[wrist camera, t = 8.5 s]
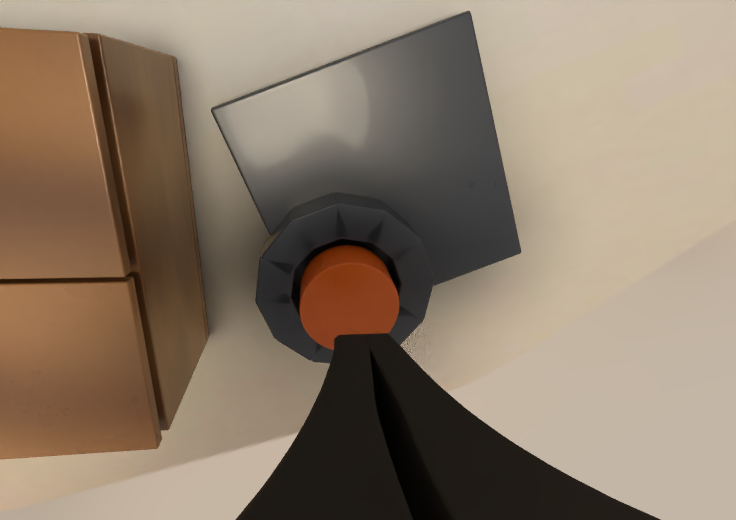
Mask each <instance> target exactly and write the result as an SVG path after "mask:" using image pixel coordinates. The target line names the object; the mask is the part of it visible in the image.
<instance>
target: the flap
mask: <svg viewBox="0 0 736 520" xmlns="http://www.w3.org/2000/svg"><path fill="white" fill-rule="evenodd" d="M161 440H162V436H161V430H160V425H159V419H158V413H157V408H156V402H155V396H154V391H153V385H152V379H151V374H150V368H149V362H148V357H147V351H146V345H145V339H144V334H143V328H142V322H141V317H140V311H139V305H138V300H137V294H136V288H135V283H134V278H133V277H100V278H38V279H0V459H13V458H28V457H42V456H57V455H72V454H86V453H101V452H115V451H130V450H145V449H157V448H158V447H159V445H160V442H161Z"/></svg>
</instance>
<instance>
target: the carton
mask: <svg viewBox="0 0 736 520" xmlns="http://www.w3.org/2000/svg"><path fill="white" fill-rule="evenodd" d="M100 277H133V278H134V283H135V288H136V294H137V300H138V305H139V311H140V317H141V322H142V328H143V334H144V339H145V345H146V351H147V357H148V362H149V368H150V374H151V379H152V385H153V391H154V396H155V402H156V408H157V413H158V419H159V425H160V430H169V428H170V426H171V424H172V421H173V419H174V417H175V414H176V412H177V410H178V407H179V405H180V403H181V400H182V398H183V396H184V393H185V391H186V389H187V386H188V384H189V382H190V379H191V377H192V375H193V372H194V370H195V368H196V365H197V363H198V361H199V358H200V356H201V354H202V351H203V349H204V347H205V344H206V342H207V340H208V337H209V334H208V326H207V317H206V309H205V300H204V292H203V283H202V275H201V266H200V258H199V249H198V241H197V232H196V224H195V215H194V207H193V198H192V190H191V181H190V173H189V164H188V156H187V147H186V139H185V130H184V122H183V113H182V105H181V96H180V88H179V79H178V71H177V62H176V57H173V56H170V55H167V54H163V53H160V52H157V51H154V50H150V49H147V48H144V47H140V46H137V45H134V44H131V43H127V42H124V41H121V40H117V39H114V38H111V37H108V36H104V35H101V34H95V33H79V32H69V31H52V30H34V29H17V28H0V279H38V278H100Z"/></svg>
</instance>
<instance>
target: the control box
mask: <svg viewBox="0 0 736 520" xmlns="http://www.w3.org/2000/svg"><path fill="white" fill-rule="evenodd" d="M211 112H212V114H213V116H214V119H215V121H216V123H217V125H218V127H219V129H220V131H221V133H222V135H223V138H224V140H225V142H226V144H227V146H228V148H229V150H230V152H231V155H232V157H233V159H234V161H235V163H236V165H237V167H238V169H239V171H240V174H241V176H242V178H243V180H244V182H245V184H246V186H247V188H248V191H249V193H250V195H251V197H252V199H253V201H254V203H255V205H256V207H257V210H258V212H259V214H260V216H261V218H262V220H263V222H264V224H265V227H266V229H267V231H268V233H269V235H270V236H269V238H268V239H267V240H266V242H265V244H264V247H263V250H262V253H261V256H260V261H259V270H258V280H257V289H256V299H255V301H256V304H257V306H258V308H259V310H260V312H261V313H262V315H263V317H264V319H265V321H266V323H267V325H268V327H269V329H270V331H271V333H272V334H273V336H274V338H275V339H277V340H278V341H279V342H281V343H282V344H284V345H286V346H287V347H289V348H291V349H292V350H294V351H295V352H297V353H299V354H300V355H302V356H303V357H305V358H307V359H308V360H312V361H313V362H322V363H331V360H332V356H333V351H334V350H331V349H328V348H326V347H324V346H322V345H320V344H319V343H317V342H316V341H315V340H313V339H312V338H311V337H310V336H309V334H308V333H307V332H306V330H305V328H304V327H303V324H302V322H301V318H300V311H299V307H300V289H301V280H302V276H303V273H304V271H305V269H306V267H307V265H308V264H309V263H310V261H311V260H312V259H313V258H314V257H316V256H317V255H318V254H319V253H321V252H323V251H324V250H327V249H329V248H332V247H335V246H340V245H355V246H360V247H363V248H366V249H368V250H370V251H371V252H373V253H374V254H376V255H377V256H378V257H379V258H380V259H381V260H382V261H383V263H384V264H385V266H386V268H387V270H388V272H389V274H390V277H391V279H392V281H393V283H394V285H395V288H396V290H397V293H398V296H399V313H398V316H397V320H396V322H395V324H394V326H393V327H392V329H391V331H390V332H389V334H390V336H391V337H392V338H393V339H394V340H395V341H396V342H397V343H398V344H399V345H400V344H401V343H402V342H403V341H404V340H405V339H406V338H407V337H408V336H409V335H410V334H411V333H412V332H413V331H414V330H415V329H416V328H417V326H418V325H419V324H420V323H421V322H422V321H423V319H424V317H425V314H426V310H427V306H428V302H429V298H430V295H431V291H432V287H433V286H434V285H437V284H440V283H442V282H445V281H448V280H450V279H453V278H456V277H458V276H461V275H464V274H466V273H469V272H472V271H474V270H477V269H480V268H483V267H485V266H488V265H491V264H493V263H496V262H499V261H501V260H504V259H507V258H509V257H512V256H515V255H517V254H520V253H521V248H520V243H519V238H518V234H517V229H516V224H515V219H514V215H513V210H512V205H511V201H510V196H509V191H508V186H507V182H506V177H505V172H504V167H503V163H502V158H501V153H500V149H499V144H498V139H497V134H496V130H495V125H494V120H493V115H492V111H491V106H490V101H489V97H488V92H487V87H486V82H485V78H484V73H483V68H482V63H481V59H480V54H479V49H478V45H477V40H476V35H475V30H474V26H473V21H472V16H471V13H470V11H466V12H463V13H461V14H458V15H455V16H453V17H450V18H447V19H445V20H442V21H439V22H437V23H434V24H432V25H429V26H426V27H424V28H421V29H418V30H416V31H413V32H410V33H408V34H405V35H403V36H400V37H397V38H395V39H392V40H389V41H387V42H384V43H381V44H379V45H376V46H374V47H371V48H368V49H366V50H363V51H360V52H358V53H355V54H352V55H350V56H347V57H345V58H342V59H339V60H337V61H334V62H331V63H329V64H326V65H323V66H321V67H318V68H316V69H313V70H310V71H308V72H305V73H302V74H300V75H297V76H294V77H292V78H289V79H287V80H284V81H281V82H279V83H276V84H273V85H271V86H268V87H265V88H263V89H260V90H258V91H255V92H252V93H250V94H247V95H244V96H242V97H239V98H236V99H234V100H231V101H229V102H226V103H223V104H221V105H218V106H215V107H213V108H212V109H211Z"/></svg>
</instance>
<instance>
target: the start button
mask: <svg viewBox="0 0 736 520" xmlns="http://www.w3.org/2000/svg"><path fill="white" fill-rule="evenodd" d="M299 311H300V318H301V322H302V324H303V327H304V328H305V330H306V332H307V333H308V334H309V336H310V337H311V338H312V339H313V340H315V341H316V342H317V343H319V344H320V345H322V346H324V347H326V348H328V349H331V350H334V339H335V338H336V337H337V336H338V335H346V334H375V333H389V332H390V331H391V329H392V327H393V326H394V324H395V322H396V320H397V316H398V313H399V296H398V293H397V290H396V288H395V285H394V283H393V281H392V279H391V277H390V274H389V272H388V270H387V268H386V266H385V264H384V263H383V261H382V260H381V259H380V258H379V257H378V256H377V255H376V254H374V253H373V252H371V251H370V250H368V249H366V248H363V247H360V246H355V245H340V246H335V247H332V248H329V249H327V250H324V251H323V252H321V253H319V254H318V255H317V256H316V257H314V258H313V259H312V260H311V261H310V263H309V264H308V265H307V267H306V269H305V271H304V273H303V276H302V280H301V289H300V307H299Z"/></svg>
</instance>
